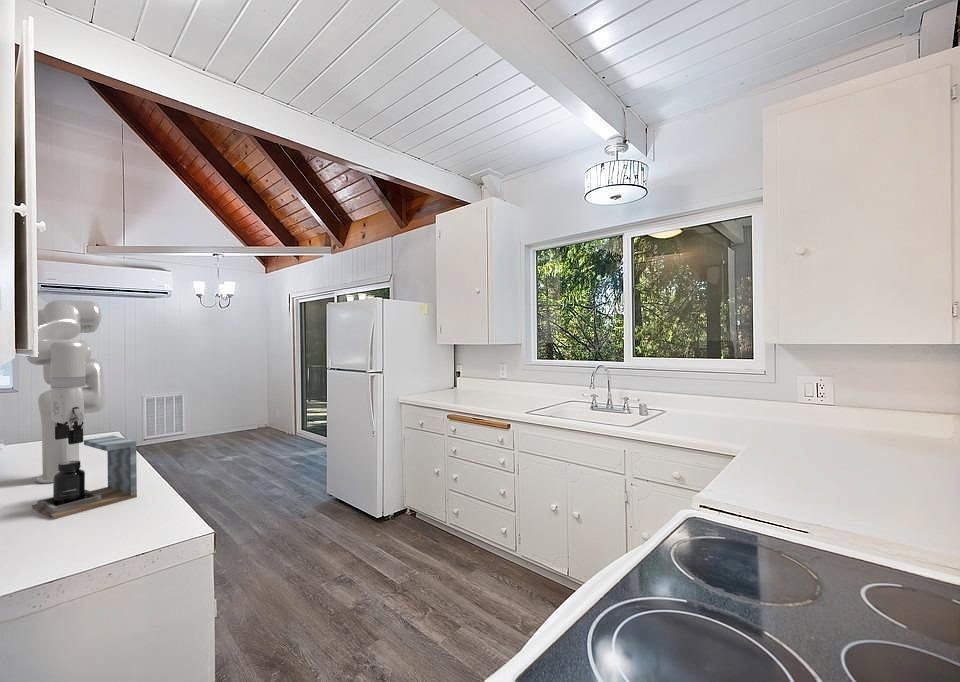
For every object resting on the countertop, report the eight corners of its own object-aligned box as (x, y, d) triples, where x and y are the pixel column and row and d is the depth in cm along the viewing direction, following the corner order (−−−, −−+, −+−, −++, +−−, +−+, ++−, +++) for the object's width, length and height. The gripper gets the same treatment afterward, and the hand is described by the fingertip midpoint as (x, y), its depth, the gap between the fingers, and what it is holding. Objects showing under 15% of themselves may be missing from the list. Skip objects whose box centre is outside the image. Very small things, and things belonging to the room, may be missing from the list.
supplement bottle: (65, 508, 126) (64, 466, 126) (47, 506, 128) (46, 465, 128) (91, 499, 133) (90, 459, 133) (73, 498, 134) (72, 458, 134)
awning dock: (32, 508, 129) (31, 448, 129) (113, 488, 146) (112, 435, 146) (53, 519, 121) (52, 455, 121) (136, 497, 138) (136, 440, 138)
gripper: (40, 382, 131) (40, 439, 131) (63, 386, 122) (64, 448, 123) (72, 379, 137) (73, 434, 138) (97, 383, 129) (97, 442, 129)
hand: (69, 441), depth 130 cm, fingers open, 9 cm apart
